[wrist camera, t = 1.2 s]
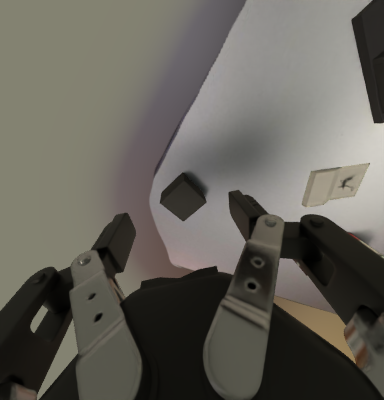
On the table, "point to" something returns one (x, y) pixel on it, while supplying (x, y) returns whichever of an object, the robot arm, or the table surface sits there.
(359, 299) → the robot arm
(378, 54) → the base pad
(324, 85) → the table surface
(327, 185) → the beige piece
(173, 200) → the black square block
